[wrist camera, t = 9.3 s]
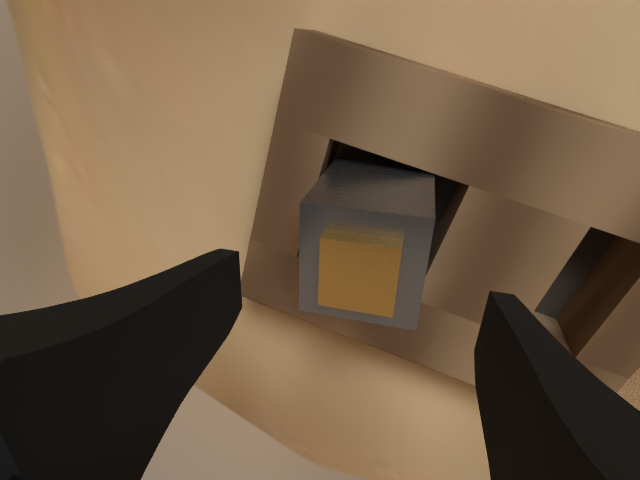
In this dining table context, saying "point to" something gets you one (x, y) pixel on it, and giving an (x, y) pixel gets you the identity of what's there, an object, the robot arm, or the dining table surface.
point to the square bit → (366, 240)
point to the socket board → (463, 204)
